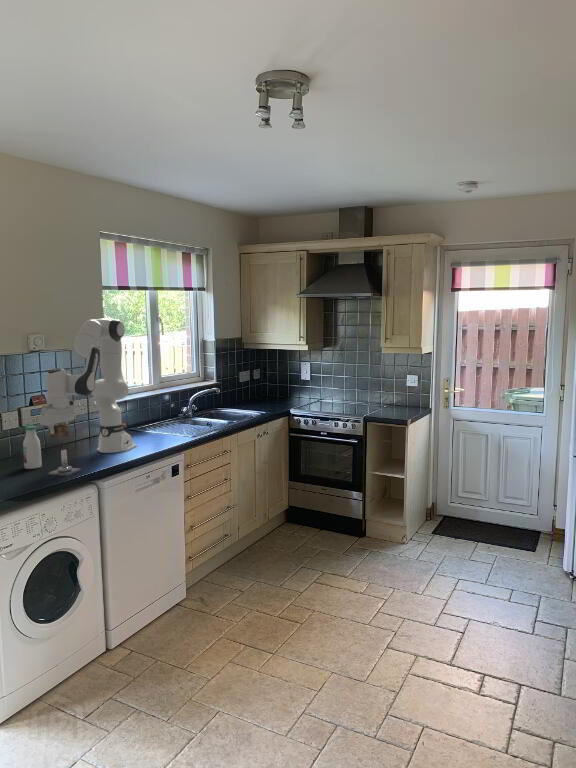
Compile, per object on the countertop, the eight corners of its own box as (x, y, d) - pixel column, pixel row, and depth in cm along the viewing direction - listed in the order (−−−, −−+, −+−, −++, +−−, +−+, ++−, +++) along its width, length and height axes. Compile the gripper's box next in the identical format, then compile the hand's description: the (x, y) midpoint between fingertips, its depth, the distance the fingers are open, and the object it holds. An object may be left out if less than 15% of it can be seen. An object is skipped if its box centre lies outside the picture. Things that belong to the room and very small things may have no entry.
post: (63, 469, 270) (61, 447, 269) (81, 470, 267) (79, 448, 266) (48, 474, 260) (47, 452, 259) (67, 475, 257) (65, 453, 256)
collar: (57, 435, 272) (57, 424, 272) (68, 435, 271) (67, 425, 270) (49, 437, 267) (48, 426, 266) (59, 437, 265) (59, 427, 264)
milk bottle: (44, 465, 280) (41, 424, 278) (38, 469, 272) (35, 427, 270) (28, 465, 279) (25, 425, 278) (21, 469, 272) (18, 428, 270)
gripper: (47, 406, 256) (48, 436, 258) (76, 401, 276) (78, 429, 277) (35, 405, 258) (37, 436, 259) (66, 400, 278) (67, 428, 279)
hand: (58, 432), depth 268 cm, fingers closed on collar, 6 cm apart
